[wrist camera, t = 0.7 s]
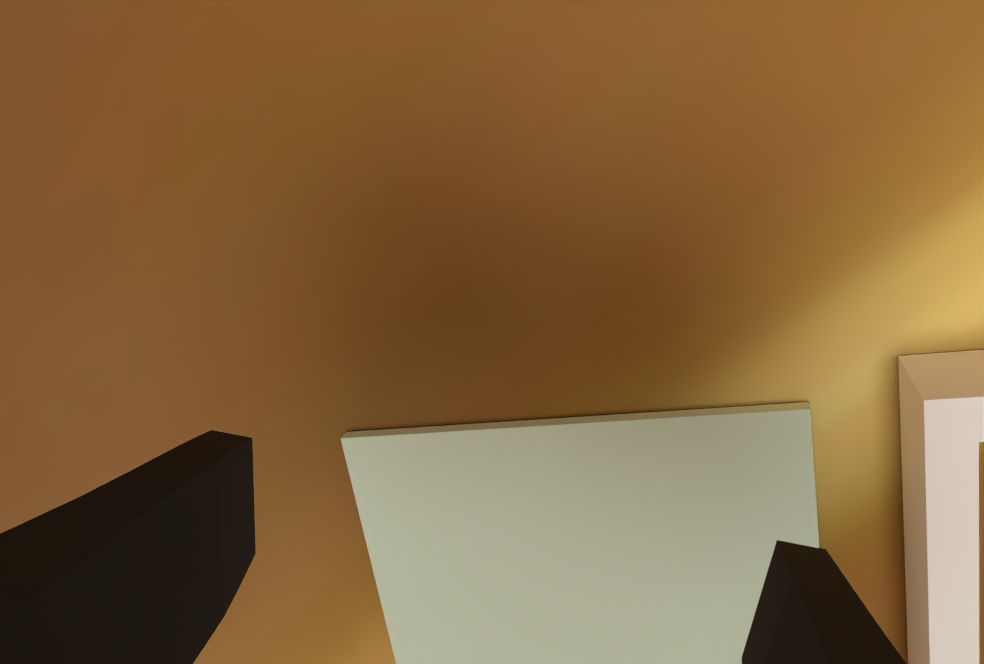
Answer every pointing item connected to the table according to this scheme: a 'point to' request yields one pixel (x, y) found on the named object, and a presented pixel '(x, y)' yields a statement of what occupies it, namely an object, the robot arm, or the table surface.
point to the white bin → (941, 502)
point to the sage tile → (582, 533)
